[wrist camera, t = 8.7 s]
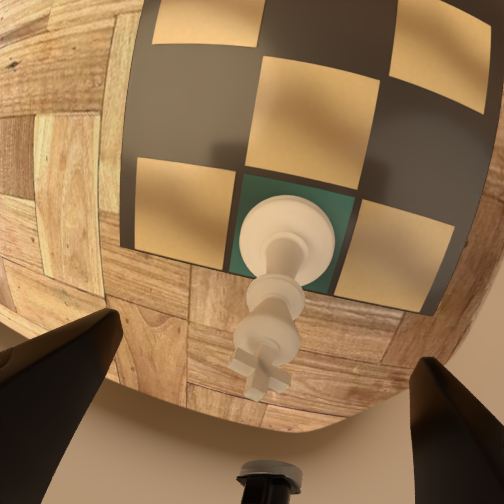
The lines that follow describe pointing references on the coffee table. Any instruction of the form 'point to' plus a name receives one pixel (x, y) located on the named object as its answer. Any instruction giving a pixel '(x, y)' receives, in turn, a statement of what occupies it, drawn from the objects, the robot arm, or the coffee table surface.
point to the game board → (315, 133)
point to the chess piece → (277, 286)
